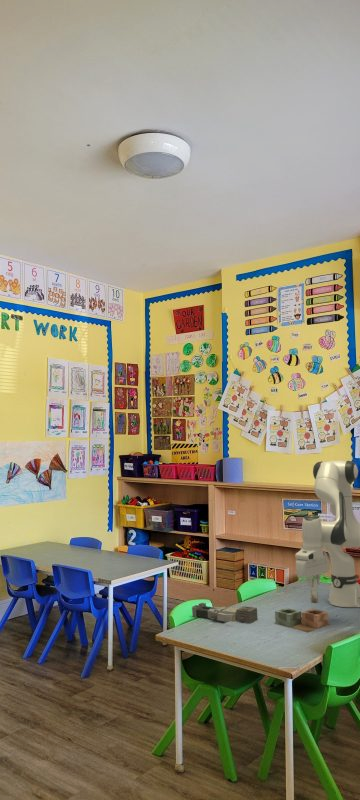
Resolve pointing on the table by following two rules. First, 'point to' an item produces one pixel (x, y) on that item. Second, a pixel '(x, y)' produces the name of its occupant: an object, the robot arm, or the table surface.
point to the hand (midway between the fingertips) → (313, 585)
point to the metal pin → (314, 591)
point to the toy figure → (226, 613)
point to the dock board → (301, 619)
